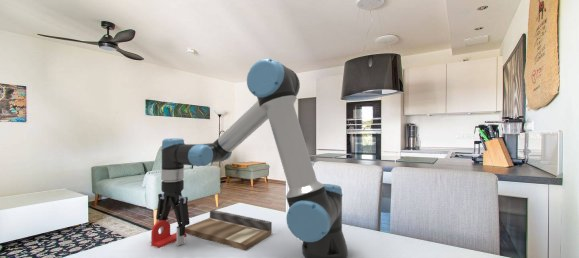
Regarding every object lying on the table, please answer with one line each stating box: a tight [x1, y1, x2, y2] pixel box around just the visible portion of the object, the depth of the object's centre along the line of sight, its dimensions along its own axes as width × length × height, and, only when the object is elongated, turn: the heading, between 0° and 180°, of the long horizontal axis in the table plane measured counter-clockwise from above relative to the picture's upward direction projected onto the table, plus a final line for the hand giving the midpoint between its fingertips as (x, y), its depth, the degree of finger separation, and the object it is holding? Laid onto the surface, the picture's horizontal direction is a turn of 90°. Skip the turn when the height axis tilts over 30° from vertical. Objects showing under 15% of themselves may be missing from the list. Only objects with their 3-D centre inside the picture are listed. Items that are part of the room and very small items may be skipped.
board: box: [185, 209, 273, 251], centre depth 104 cm, size 32×16×5 cm, turn 61°
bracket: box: [150, 220, 187, 249], centre depth 97 cm, size 12×4×8 cm, turn 151°
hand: (172, 241), depth 96 cm, fingers open, 8 cm apart
